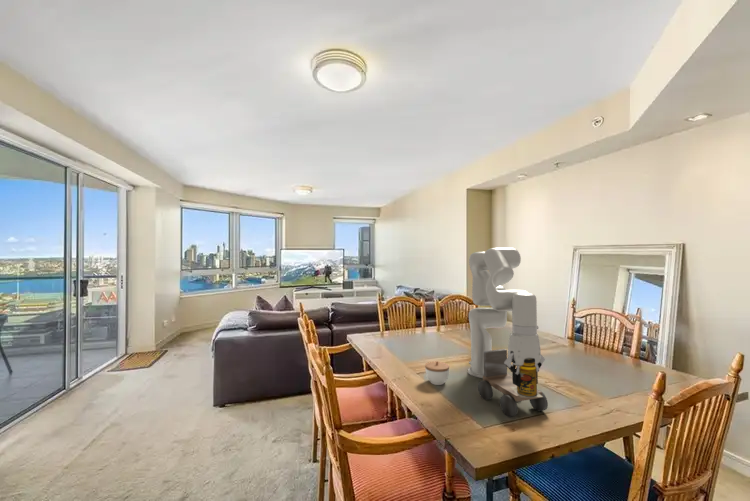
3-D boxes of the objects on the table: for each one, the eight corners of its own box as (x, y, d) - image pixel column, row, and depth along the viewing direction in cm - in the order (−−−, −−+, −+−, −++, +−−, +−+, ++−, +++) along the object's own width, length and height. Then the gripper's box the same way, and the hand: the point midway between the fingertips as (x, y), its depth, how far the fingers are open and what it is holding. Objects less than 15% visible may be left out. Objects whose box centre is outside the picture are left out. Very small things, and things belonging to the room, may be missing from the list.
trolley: (478, 395, 136) (477, 351, 136) (509, 390, 140) (508, 348, 140) (512, 420, 116) (512, 368, 116) (547, 414, 120) (547, 364, 120)
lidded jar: (431, 388, 144) (431, 366, 144) (421, 379, 154) (421, 359, 154) (453, 385, 147) (453, 364, 147) (442, 376, 157) (442, 356, 157)
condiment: (520, 398, 107) (520, 360, 107) (510, 387, 116) (509, 352, 116) (543, 397, 107) (543, 360, 107) (530, 387, 116) (530, 352, 116)
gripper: (537, 325, 118) (537, 376, 118) (495, 329, 113) (496, 382, 113) (554, 330, 110) (554, 384, 110) (510, 334, 106) (510, 391, 106)
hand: (525, 383), depth 112 cm, fingers closed on condiment, 6 cm apart
